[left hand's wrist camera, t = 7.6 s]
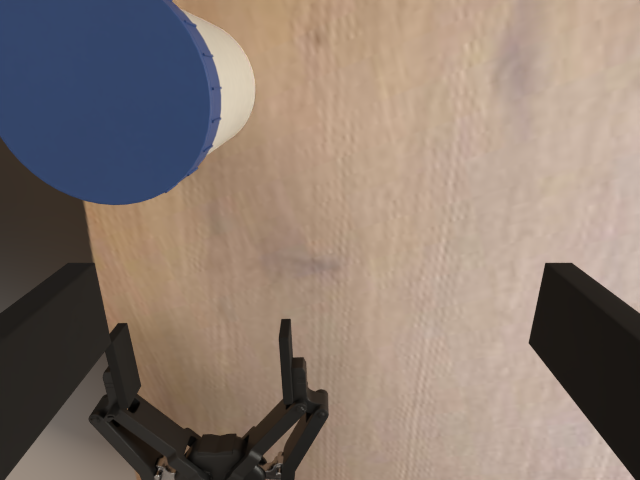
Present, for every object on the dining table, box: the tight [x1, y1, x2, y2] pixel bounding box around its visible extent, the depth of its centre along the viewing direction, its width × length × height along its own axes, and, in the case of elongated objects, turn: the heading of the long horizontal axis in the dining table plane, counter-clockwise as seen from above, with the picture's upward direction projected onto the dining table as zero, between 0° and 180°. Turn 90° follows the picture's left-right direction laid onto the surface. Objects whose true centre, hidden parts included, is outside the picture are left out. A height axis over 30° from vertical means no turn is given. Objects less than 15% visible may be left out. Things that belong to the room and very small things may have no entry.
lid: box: [0, 0, 222, 205], centre depth 20 cm, size 10×10×2 cm
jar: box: [181, 9, 255, 156], centre depth 27 cm, size 10×10×16 cm
